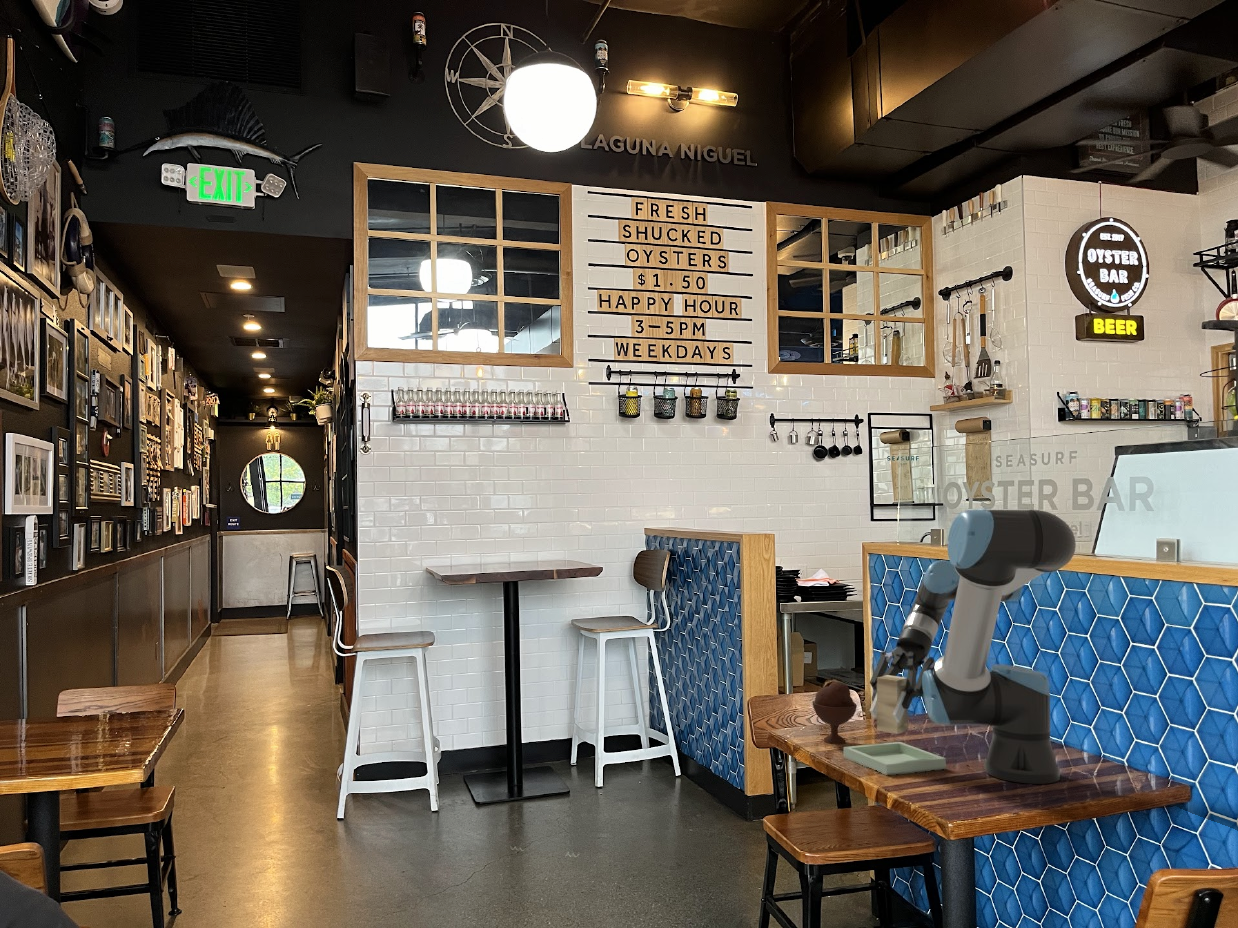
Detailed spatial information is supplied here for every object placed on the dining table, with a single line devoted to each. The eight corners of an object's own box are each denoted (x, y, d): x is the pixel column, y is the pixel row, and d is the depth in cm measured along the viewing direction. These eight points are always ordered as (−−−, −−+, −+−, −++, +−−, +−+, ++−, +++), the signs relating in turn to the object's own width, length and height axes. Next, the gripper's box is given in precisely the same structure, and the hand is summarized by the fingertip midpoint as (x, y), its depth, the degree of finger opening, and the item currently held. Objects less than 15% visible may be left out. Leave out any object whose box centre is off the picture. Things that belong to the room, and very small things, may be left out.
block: (887, 726, 214) (887, 674, 214) (907, 730, 210) (907, 677, 211) (877, 730, 210) (876, 677, 211) (897, 733, 207) (897, 680, 207)
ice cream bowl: (852, 736, 234) (852, 677, 235) (859, 747, 223) (859, 685, 224) (810, 735, 235) (810, 676, 236) (815, 745, 224) (815, 684, 225)
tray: (945, 769, 204) (945, 758, 205) (886, 775, 199) (886, 764, 199) (899, 751, 219) (899, 741, 219) (843, 757, 214) (843, 746, 214)
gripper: (958, 650, 216) (927, 733, 203) (888, 642, 228) (854, 719, 216) (948, 630, 212) (916, 712, 200) (877, 623, 225) (843, 700, 212)
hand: (884, 716), depth 208 cm, fingers closed on block, 5 cm apart
